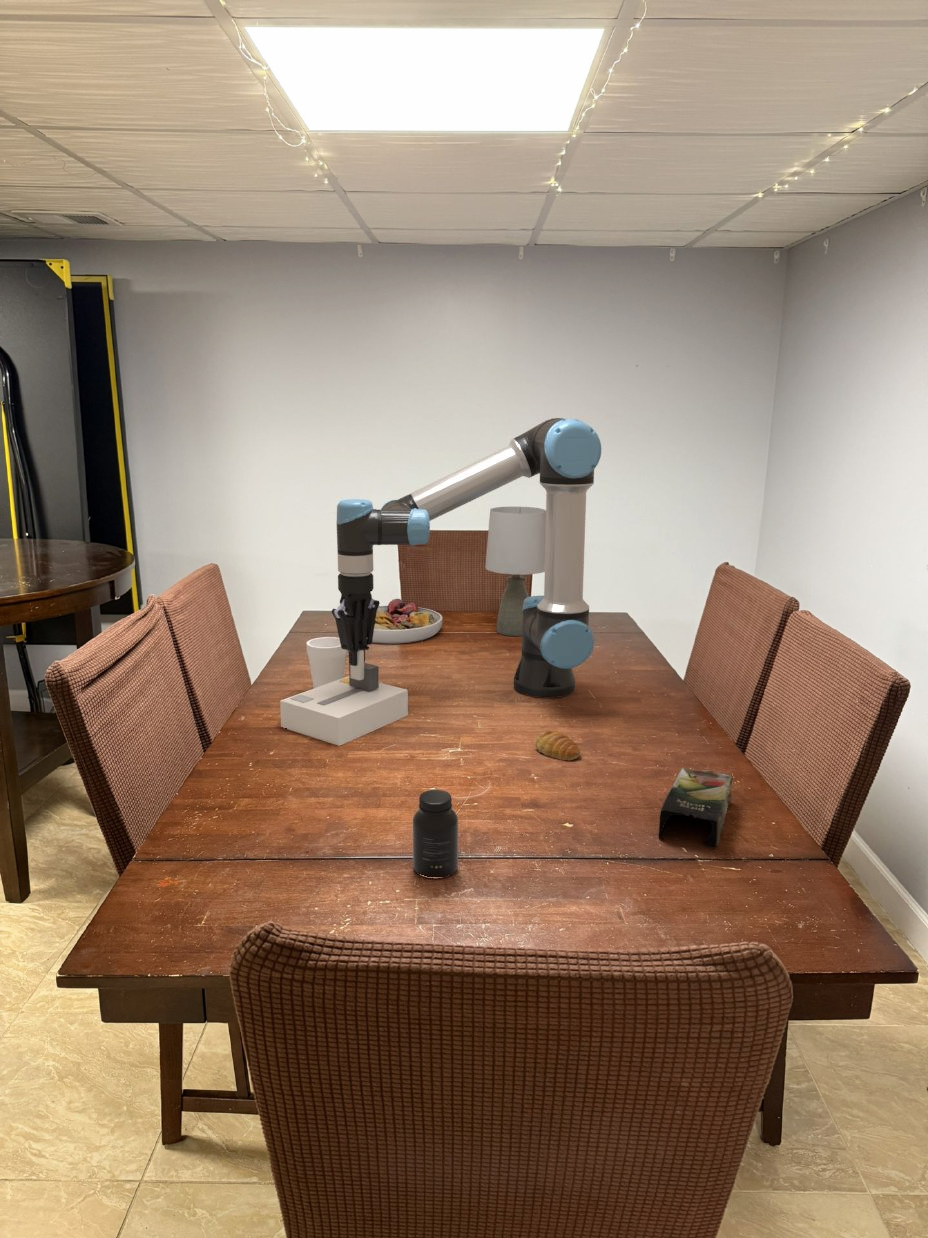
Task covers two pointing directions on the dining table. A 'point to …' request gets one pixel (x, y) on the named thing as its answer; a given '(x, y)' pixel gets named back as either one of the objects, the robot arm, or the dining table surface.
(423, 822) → the supplement bottle
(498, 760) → the dining table surface
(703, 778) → the juice carton
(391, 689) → the switch panel
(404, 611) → the bowl
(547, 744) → the pastry
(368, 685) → the knob
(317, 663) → the foam cup
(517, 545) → the lamp
